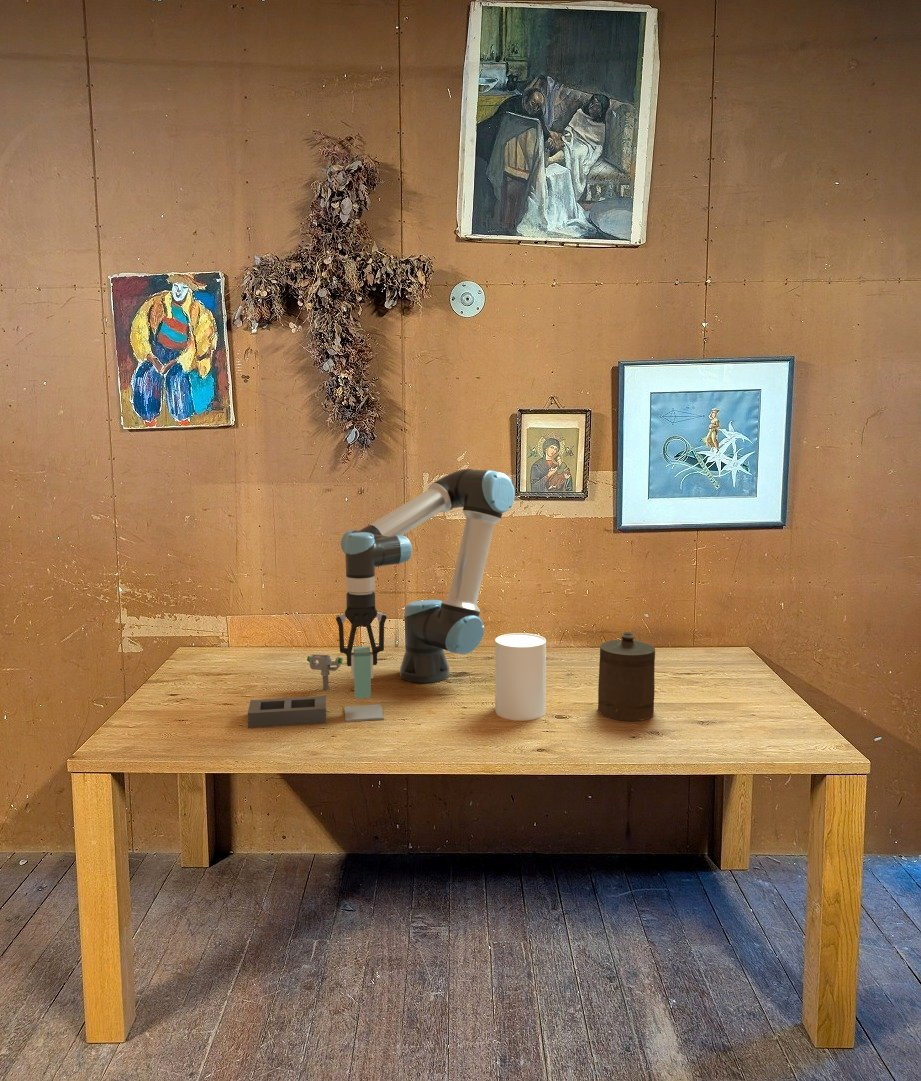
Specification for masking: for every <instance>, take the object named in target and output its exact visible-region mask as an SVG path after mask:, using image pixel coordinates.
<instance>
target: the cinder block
mask: <svg viewBox="0 0 921 1081" xmlns="http://www.w3.org/2000/svg"><path fill="white" fill-rule="evenodd" d="M326 697H327V696H326V695H318V696H317V695H316V696H314V695H313V696H300V697H283V698H280V697H279V698H267V699H266V698H265V699H264V698H263V699H250V701H249V706H248V710H247V726H248V727H247V729H253V728H256V729H257V728H270V727H271V728H272V727H273V728H274V727H285V726H287V727H288V726H304V725H305V726H306V725H322V724H327V701H326V700H327V698H326Z"/></svg>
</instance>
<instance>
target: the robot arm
mask: <svg viewBox="0 0 921 1081" xmlns="http://www.w3.org/2000/svg"><path fill="white" fill-rule="evenodd" d="M515 493H516V492H515V486H514V484H513V483H512V480H511V478H510V477H509V475H507V474H506V473H504V472H499V471H495V470H491V469H490V470H485V469H484V470H483V469H482V470H481V469H473V468H472V469H471V468H465V469H459V470H456V471H454V472H451V473H449V474H447V475H445V476H443V477H440V478H439V479H438V480H435V481H434V482H432V483H431V484H429V485H428V488H427V490H425V491H423V492H422V493H420V494H419V495H417V496H415V497H414V498H412V499H410V500H409V501H407V502H406V503H403V504H402V505H401V506H399V507H397V508H395V509H393V510H392V511H390V512H388V513H387V514H385V515H383V516H382V517H380V518H379V519H376V520H375V521H374V522H372V523H370V524H368V525H367V526H365V527H363V528H362V529H359V530H358V529H354V530H353V529H352V530H351V529H350V530H348V531H345V532H344V534H343V535H342V537H341V540H340V547H341V550H342V552H343V553H344V554H345V558H344V559H345V589H346V591H347V593H346V594H345V595H346V596H345V598H346V609H345V610H344V611H345V612H344V613H342V614H336V615H335V620H336V623H337V625H338V640H339V644H338V645H339V652H340V654H345V655H346V666H347V667H350V669H351V670H350V672H351V673H350V674H351V676H350V677H351V680H354V679H355V674H354V652H352V651H353V649H354V642H355V636H356V633H357V628H360V627H364V628H366V631H367V634H368V638H369V643H370V646H371V647H370V648H371V651H370V670H371V679H373V678H374V666H377V664H378V654H379V653H380V652H384V650H385V622H386V621H387V614H386V613H384V612H383V613H381V612H379V611H378V610H377V608H376V592H375V590H376V573H375V572H376V571H375V570H376V568H378V567H379V568H380V567H384V566H385V567H387V566H392V565H399V564H403V563H406V562H409V560H410V559H411V557H412V554H413V546H412V543H411V540H410V539H409V538H408V537H407V536H405V534H407V533H408V532H410V531H411V530H413V529H415V528H416V527H418V526H420V525H421V524H423V523H425V522H427V521H428V520H430V519H431V518H432V517H434V516H437V515H438V514H439V513H448V512H449V511H451V510H453V509H457V508H462V513H463V514H464V516H465V522H464V526H463V529H462V535H461V540H460V545H459V548H458V553H457V557H456V562H455V565H454V570H453V574H452V579H451V583H450V588H449V592H448V597H446V599H444V600H440V599H427V600H426V599H423V600H417V601H412V602H409V603H408V604H406V606H405V608H404V648H405V649H404V650H405V651H404V655H403V658H402V660H401V664H400V668H399V677H400V678H401V679H402V680H405V681H407V682H410V683H411V682H412V683H423V684H424V683H425V684H426V683H435V682H440V681H443V680H445V679H447V678H449V677H450V666H449V663H448V660H447V656H446V654H445V651H447V652H450V653H452V654H453V653H454V654H459V655H467V654H470V653H472V652H473V651H474V650H476V649H477V648H478V647H479V645H480V644H481V642H482V641H483V637H484V633H485V626H484V623H483V620H482V619H481V618H480V614H481V610H480V608H479V605H478V600H479V595H480V591H481V585H482V582H483V577H484V572H485V569H486V565H487V564H486V563H487V560H488V557H489V556H488V555H489V551H490V548H491V542H492V538H493V535H494V534H493V533H494V528H495V525H496V524H497V523H499V522H500V521H501V520H502V517H503V513H506V512H507V511H509V510H510V509H511V508H512V506H513V504H514V502H515V495H516V494H515ZM375 618H377V621H378V645H376V640H375V637H374V634H373V633H374V632H373V629H372V625H371V624H372V623H373V621H374V620H375ZM346 619H347V620H348V621H349V622H350V624H351V626H350V632H349V638H348V640H347V641H348V642H347V646H346V647H345V638H344V637H345V634H344V632H345V631H344V623H345V622H346Z"/></svg>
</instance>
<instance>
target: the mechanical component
mask: <svg viewBox="0 0 921 1081" xmlns="http://www.w3.org/2000/svg"><path fill="white" fill-rule="evenodd" d="M335 658H336V659H335V660H333V661H332V658H331V655H329V654H314V653H313V654H311V655H308V656H307V658H306V661H307V662H308V663H309V667H310V669H311V670H315V671H320V675H321V676H322V690H323V691H328V690H329V687H330V686H329V675H330V674H331V673H330V672H335V671H337V670H338V669H339V668H340V667H341V666H342V664H343V658H342V657H340V656H336V657H335ZM317 661H318V662H317Z"/></svg>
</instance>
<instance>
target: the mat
mask: <svg viewBox="0 0 921 1081" xmlns="http://www.w3.org/2000/svg"><path fill="white" fill-rule="evenodd" d="M344 719H345V720H344V721H345V723H351V722H352V723H353V722H366V721H368V722H369V721H384V719H385V718H384V713H383V708H382V704H369V705H352V706H351V705H350V706H349V705H348V706H344Z"/></svg>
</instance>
